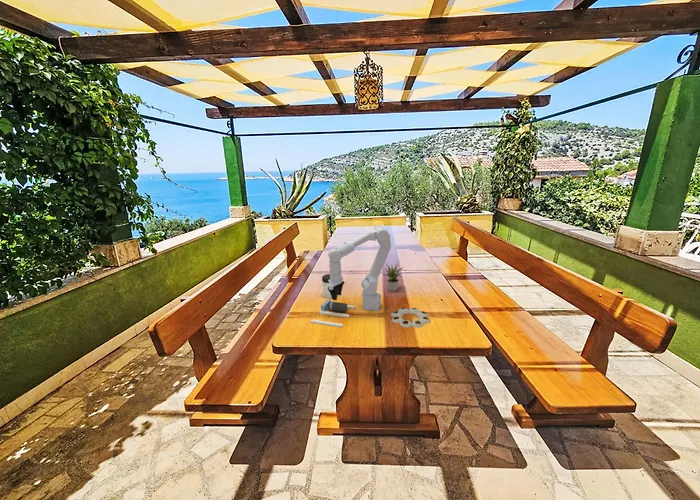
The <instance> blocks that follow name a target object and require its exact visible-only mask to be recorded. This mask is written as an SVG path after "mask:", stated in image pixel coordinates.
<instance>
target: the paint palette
mask: <svg viewBox="0 0 700 500" xmlns="http://www.w3.org/2000/svg"><path fill="white" fill-rule="evenodd" d="M407 314H411V315H416V317H418V318H417V319H415V320H413V321H412V322H411V321H410V320H408V319H404V318H403V316H404V315H407ZM390 315H391V317H392V318H391V322H393V323H395V324H399V325H400V327H403V328H411V327H413V328H423V327H424V326H425V325H427V324H430V323H431V319H430V318H429V316H430V314H428V312H426V311H423V310H422V311H421V310H420V309H418V308H415V307H411V308H409V309H408V308H406V307H400V308H399V309H398V310H396V311H395V310H394V311H392V312H391V314H390ZM395 318H397V319H395ZM424 318H425V319H424ZM403 322H408V323H407V324H406V323H405V324H404V323H403ZM417 322H419V323H420V324H417ZM424 324H425V325H424Z"/></svg>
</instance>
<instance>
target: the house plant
mask: <svg viewBox="0 0 700 500" xmlns="http://www.w3.org/2000/svg"><path fill="white" fill-rule="evenodd" d="M390 266H391V268H390ZM390 266H389V264H386V267H387V268H385V267H384V268H383V269H385V271H386V272H387V273H386V274H385V273H384V274H382V276H385V277H386V276H387V277H388V278H387V279H386V281H387V282H386V283H387V289H388V291H390V292H396V291H398V287H399V281H400V280H399V279H398V278H397V277H400V278H403V276H402V274H403V269H404V268H405V266H403V267H399V269H398V266H399V264H395V266H394V268H393V265H392V264H390ZM400 271H402V272H400Z"/></svg>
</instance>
